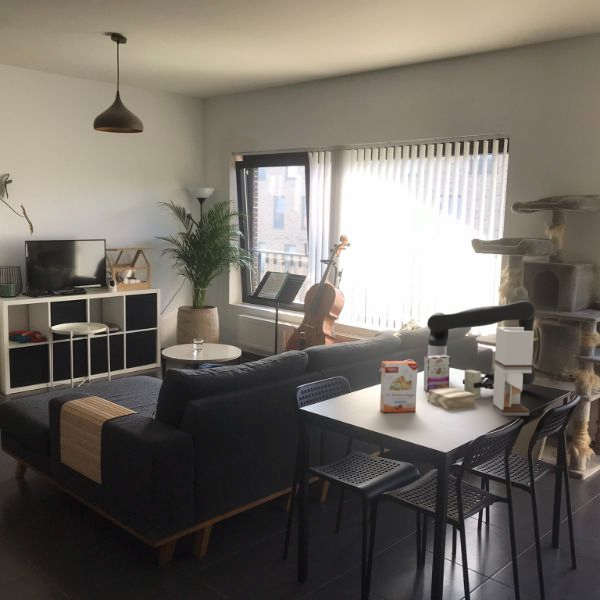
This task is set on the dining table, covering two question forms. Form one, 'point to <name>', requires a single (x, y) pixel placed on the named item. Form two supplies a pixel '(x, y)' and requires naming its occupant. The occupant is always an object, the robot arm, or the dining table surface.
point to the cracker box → (398, 386)
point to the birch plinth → (451, 397)
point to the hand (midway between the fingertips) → (468, 383)
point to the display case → (511, 368)
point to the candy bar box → (436, 372)
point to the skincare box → (472, 382)
